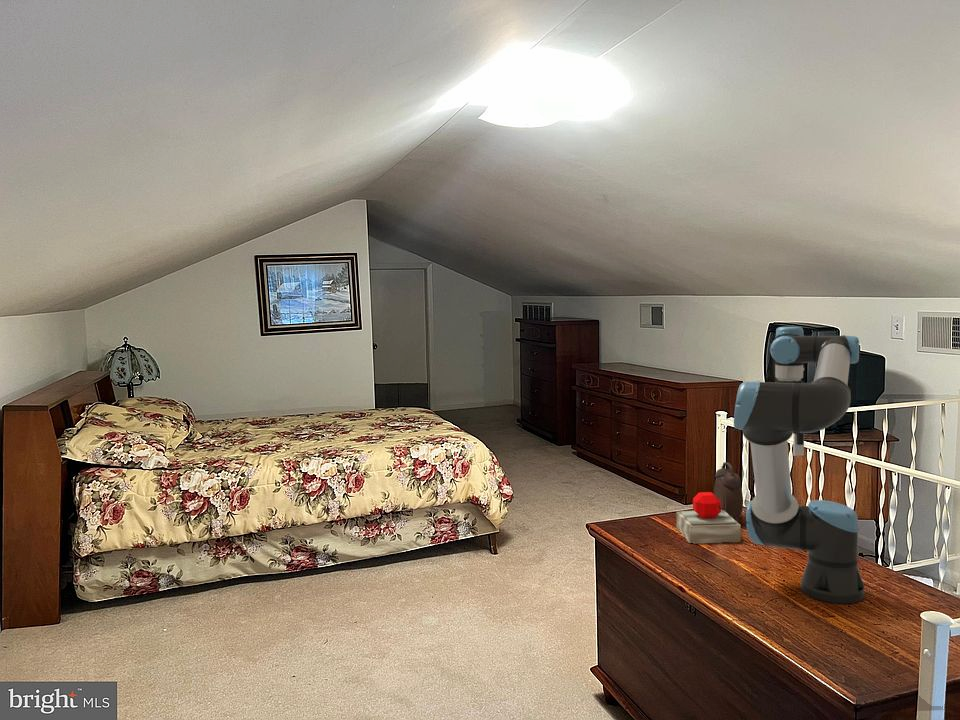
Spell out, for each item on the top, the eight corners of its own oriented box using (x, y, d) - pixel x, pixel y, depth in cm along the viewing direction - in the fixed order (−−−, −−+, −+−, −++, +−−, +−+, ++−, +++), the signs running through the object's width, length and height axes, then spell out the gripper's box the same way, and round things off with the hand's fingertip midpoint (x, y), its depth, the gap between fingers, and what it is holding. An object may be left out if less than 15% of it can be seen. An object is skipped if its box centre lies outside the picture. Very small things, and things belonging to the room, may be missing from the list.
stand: (740, 542, 234) (740, 523, 233) (689, 543, 234) (689, 525, 233) (723, 526, 250) (723, 508, 249) (676, 527, 250) (676, 510, 249)
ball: (723, 520, 237) (723, 496, 236) (698, 520, 237) (698, 497, 236) (715, 512, 245) (715, 490, 244) (691, 513, 245) (690, 490, 244)
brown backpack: (746, 526, 249) (746, 467, 247) (724, 526, 249) (724, 468, 248) (732, 513, 264) (732, 458, 262) (712, 513, 264) (712, 458, 262)
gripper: (821, 384, 205) (820, 459, 206) (784, 374, 229) (784, 441, 231) (794, 384, 205) (793, 460, 206) (760, 375, 229) (760, 442, 231)
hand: (788, 450), depth 219 cm, fingers open, 13 cm apart
